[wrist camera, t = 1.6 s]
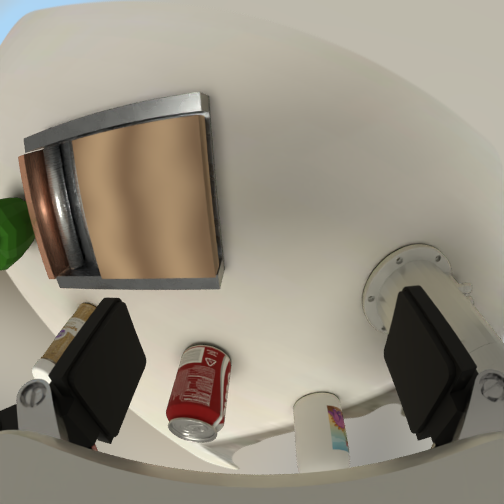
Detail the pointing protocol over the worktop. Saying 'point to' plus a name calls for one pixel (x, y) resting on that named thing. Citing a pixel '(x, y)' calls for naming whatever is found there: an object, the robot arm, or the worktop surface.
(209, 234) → the slab
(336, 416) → the milk bottle
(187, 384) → the soda can
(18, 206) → the bell pepper
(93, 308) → the sprinkles bottle
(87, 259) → the roller track
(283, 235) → the worktop surface
